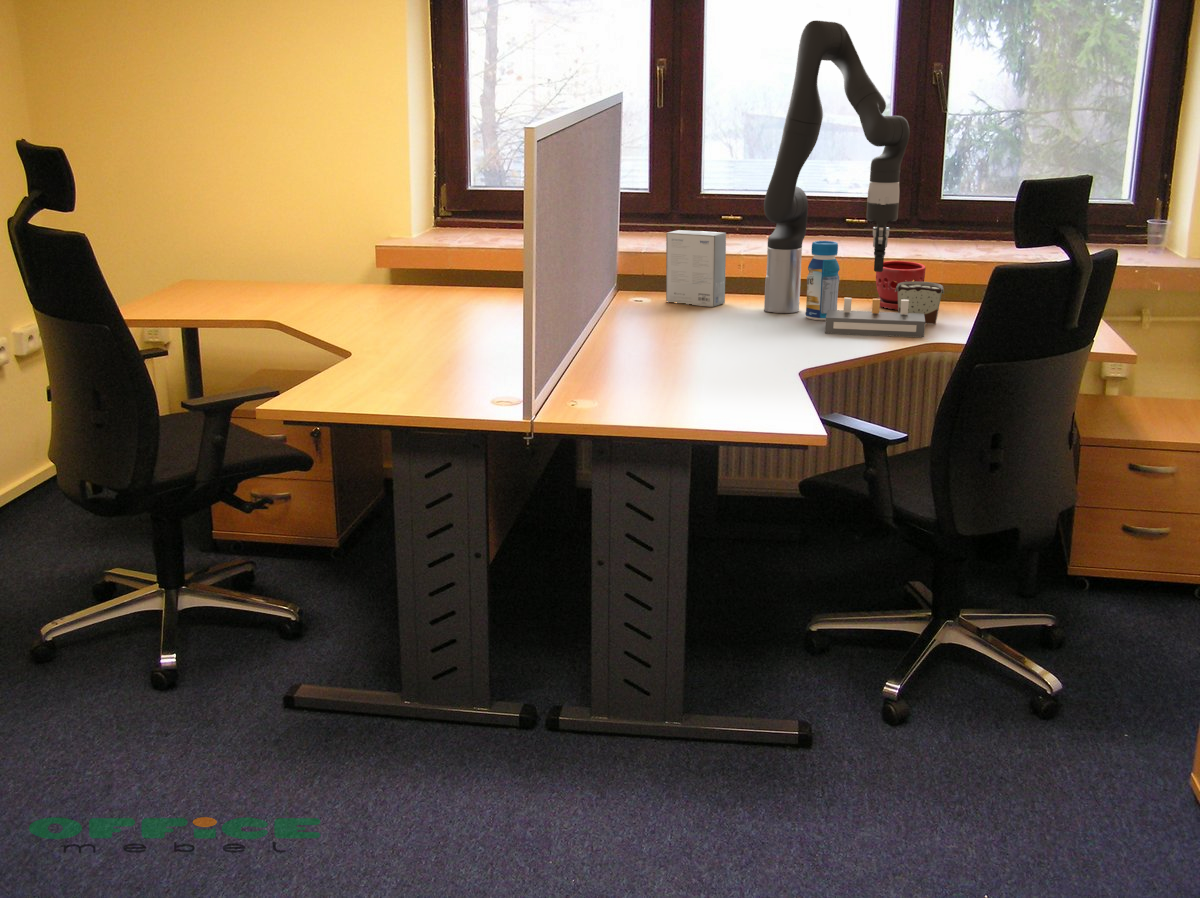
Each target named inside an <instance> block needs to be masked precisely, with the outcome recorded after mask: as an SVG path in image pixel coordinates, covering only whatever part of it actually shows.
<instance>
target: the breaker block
mask: <svg viewBox="0 0 1200 898" xmlns="http://www.w3.org/2000/svg"><path fill="white" fill-rule="evenodd" d="M824 324H825V326H824V334H829V335H830V334H831V335H854V336H856V335H857V336H859V335H860V336H881V337H883V336H884V337H904V338H905V337H906V338H922V337H924V338H925V329H926V324H925V316H924V314H921V313H908V315H903V314H900V313H898V312H896V311H895V312H890V311H888V312H887V311H879V314H878V313H872V311H870V310H869V311H866V310H865V311H863V310H851V312H844V309H843V310H841V309H840V310H838V309H837V310H828V311H827V315H826V320H825V323H824Z"/></svg>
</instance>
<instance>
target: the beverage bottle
mask: <svg viewBox="0 0 1200 898" xmlns="http://www.w3.org/2000/svg"><path fill="white" fill-rule="evenodd" d="M838 244H839V243H838V242H837V241H833V240H832V241H831V240H816V241H812V243H811V255H812V256H813V257H812V258H811V260H810V261H809V263H808V266H807V270H808V274H807V276H806V283H807V284H806V301H805V302H806V304H805V305H806V306H805V317H806V318H807V319H808V320H813V321H820V322H821V321H823V322H824V321H825V322H826V315H827V311H828V310H838V301H839V300H838V299H839V297H838V295H839V283H840V275H839V272H840V264H839V262H838V260H837V259H836V256H838V252H839V245H838Z"/></svg>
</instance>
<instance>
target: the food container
mask: <svg viewBox="0 0 1200 898" xmlns="http://www.w3.org/2000/svg"><path fill="white" fill-rule="evenodd" d="M896 291H898V310H897V313H900V311H901V300H909V305H908V313H921V314H924V316H925V325H933V326H934V325H936V324H937V319H938V315H939V314H938V313H939V309H940V304H941V299H942V294H943V295H945V290H944V286H943V284H940V283H937V282H929V281H924V282H916V281H914V280H913V281H912V282H902V283H899V284H898V285H897V286H896V290H895V292H896Z"/></svg>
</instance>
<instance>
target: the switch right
mask: <svg viewBox="0 0 1200 898" xmlns="http://www.w3.org/2000/svg"><path fill="white" fill-rule="evenodd" d="M908 305H909V300H901V311H900V314H903V315H908Z"/></svg>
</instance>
